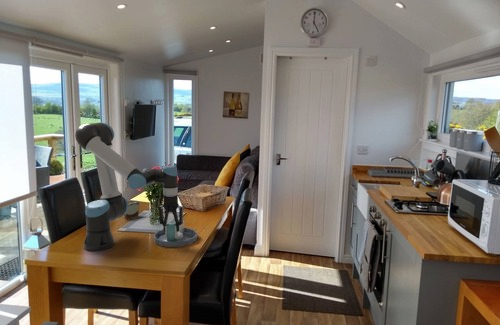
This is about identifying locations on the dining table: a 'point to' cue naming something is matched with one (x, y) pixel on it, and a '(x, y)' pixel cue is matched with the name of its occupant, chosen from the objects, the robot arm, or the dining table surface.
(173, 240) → the teal green block
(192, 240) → the groove tray
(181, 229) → the cream bead
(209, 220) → the dining table surface
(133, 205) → the food container
